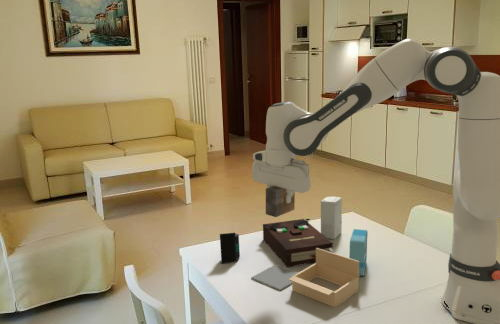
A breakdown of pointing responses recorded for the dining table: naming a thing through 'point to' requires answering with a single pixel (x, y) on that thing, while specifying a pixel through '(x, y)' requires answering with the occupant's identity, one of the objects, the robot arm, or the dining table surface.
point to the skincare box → (331, 217)
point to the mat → (275, 277)
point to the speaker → (229, 247)
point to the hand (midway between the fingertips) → (280, 200)
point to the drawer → (328, 278)
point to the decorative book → (295, 241)
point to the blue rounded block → (359, 248)
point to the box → (278, 201)
